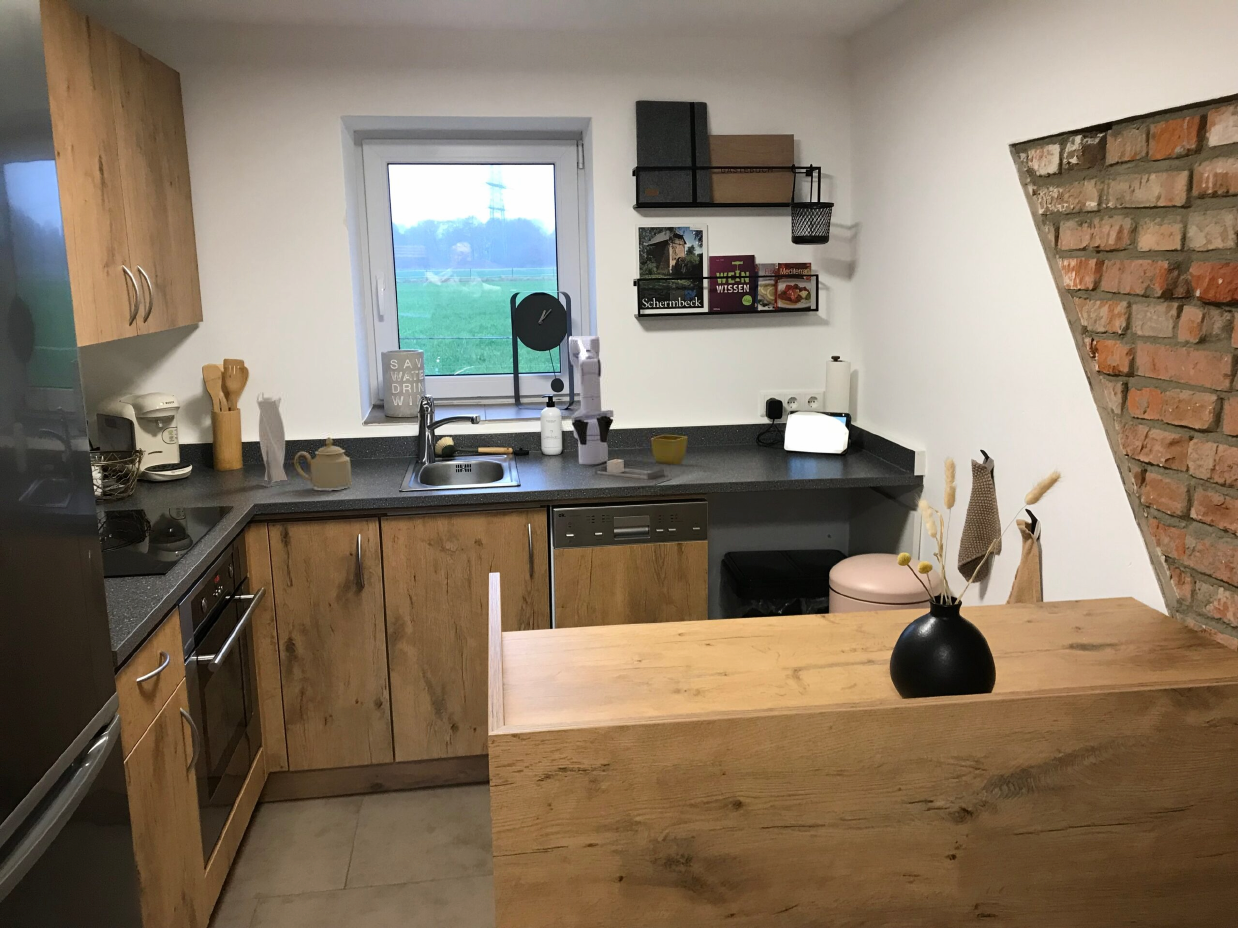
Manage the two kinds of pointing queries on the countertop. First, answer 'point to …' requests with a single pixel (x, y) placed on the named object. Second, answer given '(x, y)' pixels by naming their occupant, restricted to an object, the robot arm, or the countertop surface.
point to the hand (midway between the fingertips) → (593, 443)
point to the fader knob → (615, 466)
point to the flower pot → (669, 448)
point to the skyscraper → (272, 438)
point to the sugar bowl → (327, 467)
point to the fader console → (650, 474)
